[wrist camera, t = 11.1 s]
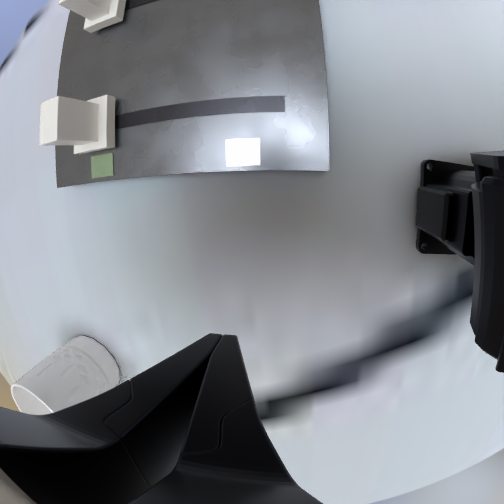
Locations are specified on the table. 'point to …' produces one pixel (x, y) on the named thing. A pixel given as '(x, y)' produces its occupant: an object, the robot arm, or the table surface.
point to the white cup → (66, 377)
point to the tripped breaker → (78, 123)
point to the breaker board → (200, 88)
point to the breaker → (97, 12)
